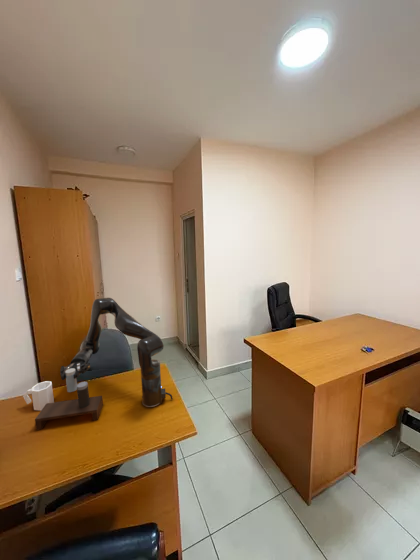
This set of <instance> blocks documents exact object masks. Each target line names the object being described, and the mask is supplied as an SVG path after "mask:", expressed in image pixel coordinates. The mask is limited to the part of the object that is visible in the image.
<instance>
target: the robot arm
mask: <svg viewBox="0 0 420 560" xmlns="http://www.w3.org/2000/svg"><path fill="white" fill-rule="evenodd" d="M107 314H111V315H112V316H113V317H114V319H113V320H114V327H115V328H116V329H117V330H118V331H119V332H120V333H121V334H123V335H124V336H127V337H131V338H135V339H138V342H137V345H136V346H137V347H136V348H137V350H136V351H137V358H138V364H139V367H140V381H141V399H142V406H144V407H146V408H148V409H149V408H156V407H158V406H159V405H162V404H163V399H166V398H167V395H168V396H169V397H170V400H173V398H174V397H173V395H172V394H171V393H170V392H166V387H165V388H162V387H163V386H162V376H161V374H162V373H161V362H160V360H158V359H155V358H152V357H153V356H156V355H158V354H159V353H161V352H162V351H163V350H164V342H163V340H162V338H161V337H160V335H158V334H156V333H155V332H153V331H151V330H150V329H149V328H146V326H144V325H142V323H140V322H139V321H137V320H136V319H135V318H134V317H133V316H132V315H131V314H129V313H128V312H126V311H125V310H124V309H123V308H122V307H121V306H120V305H119V303H118V302H117V301H116V300H115V299H113V298H112V297H101V298H100V297H99V298H96V299H94V300H93V303H92V306H91V313H90V323H89V328H88V331H87V335H86V340H83V341H82V342H81V344H80V347H79V351H78V352H77V353H76V354H75V356H74V357H73V358H72V359H71V361H70V363H69V364H67V366H65V365H61V366H60V370H59V372H60V374H59V375H60V378H61V380H62V381H65V380H66V376H65V371H66V370H68V369H71V368H74V369H75V370H76V372H75V373H74V375H73V376H74V379H76V377H77V378H78V377H79V376H80V375H81V374H85V373H86V372H88V371H89V369H91V363H90V360H91V358H92V356H93V355H96V354H97V353H98V352H99V350H100V338H101V335H102V332H103V327H102V324H101V322H100V320H99V319H100V316H101V315H107Z"/></svg>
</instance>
